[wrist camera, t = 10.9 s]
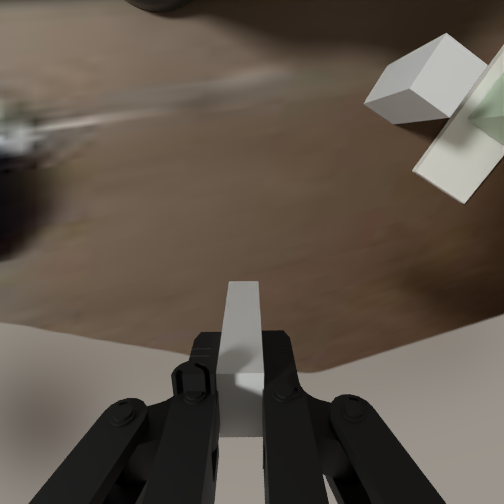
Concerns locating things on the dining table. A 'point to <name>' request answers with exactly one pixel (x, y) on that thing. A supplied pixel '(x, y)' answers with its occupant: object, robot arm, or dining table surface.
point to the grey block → (426, 82)
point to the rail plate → (464, 144)
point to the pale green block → (492, 112)
